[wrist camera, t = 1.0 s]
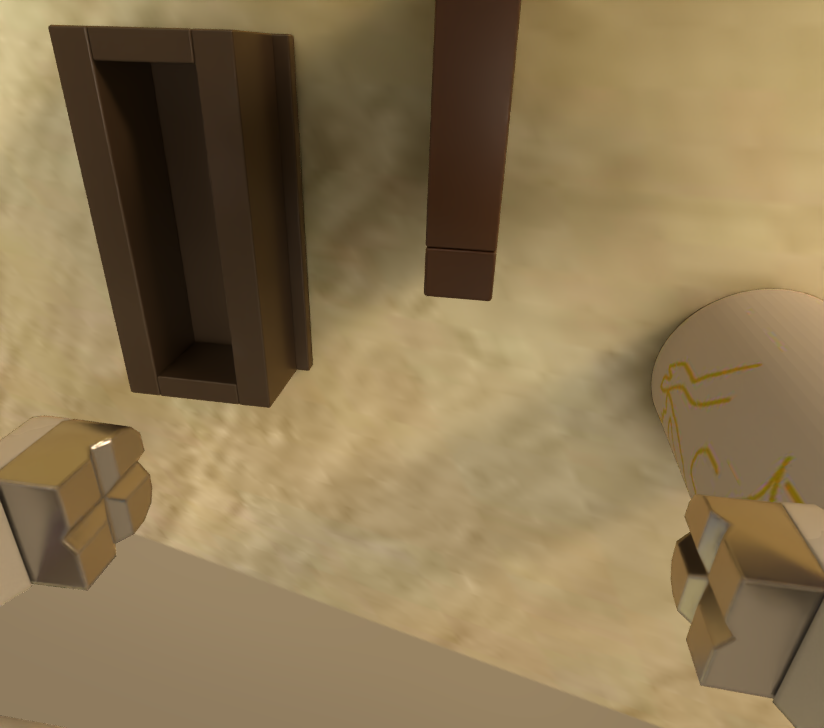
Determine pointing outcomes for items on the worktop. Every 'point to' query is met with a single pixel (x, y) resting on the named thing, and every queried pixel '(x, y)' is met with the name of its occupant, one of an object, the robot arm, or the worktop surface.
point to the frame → (468, 143)
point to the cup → (747, 397)
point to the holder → (194, 203)
